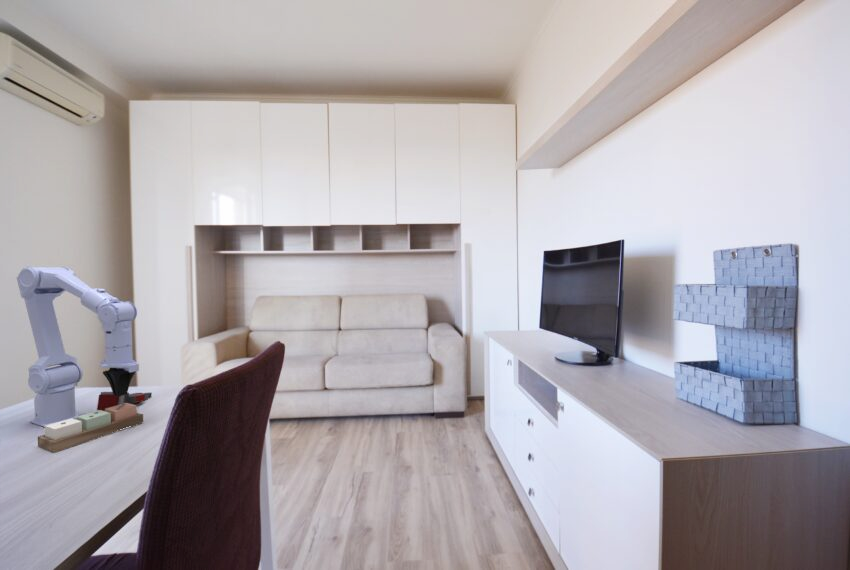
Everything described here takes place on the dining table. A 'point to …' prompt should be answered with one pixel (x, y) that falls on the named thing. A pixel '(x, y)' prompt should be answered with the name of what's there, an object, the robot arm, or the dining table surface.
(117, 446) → the dining table surface
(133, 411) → the terracotta tile
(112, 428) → the board
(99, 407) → the toy
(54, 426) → the cream tile
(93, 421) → the sage tile
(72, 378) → the robot arm
